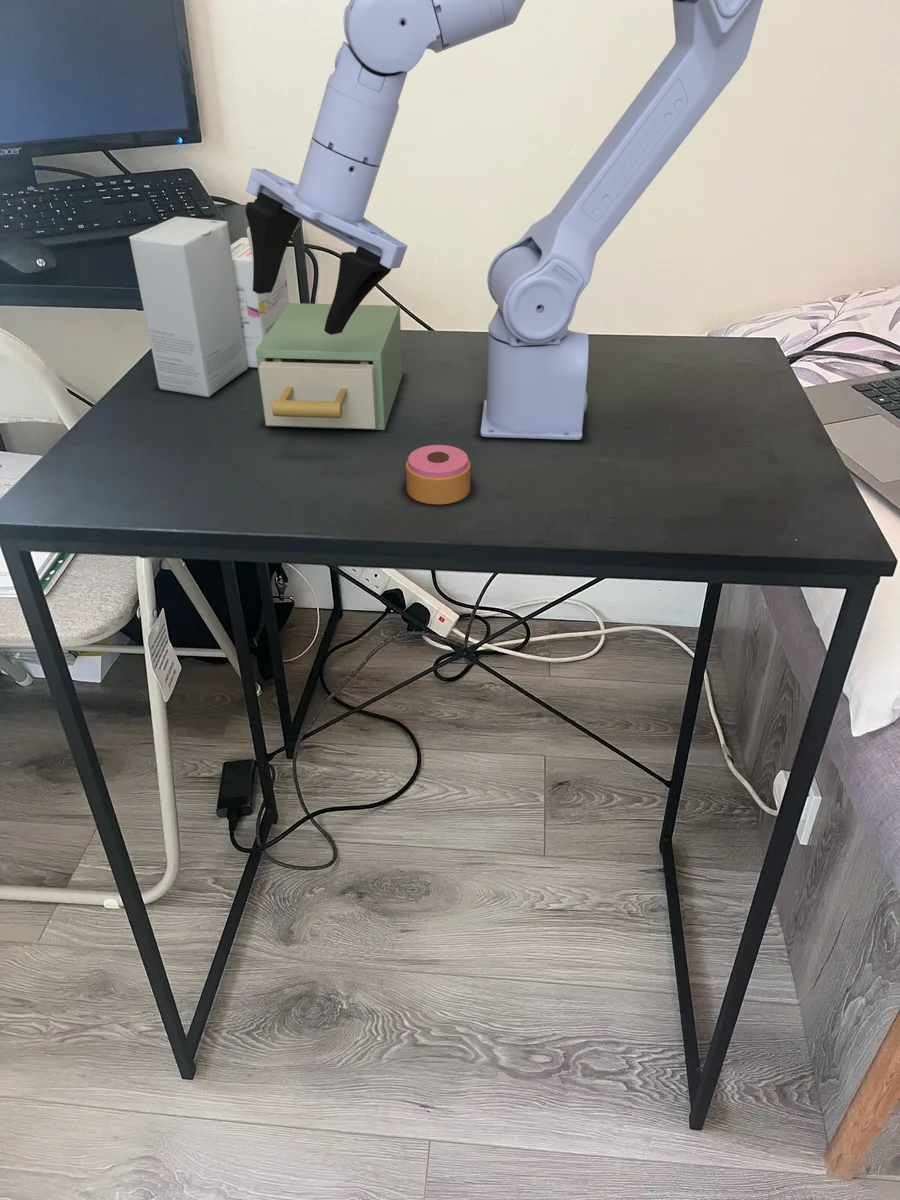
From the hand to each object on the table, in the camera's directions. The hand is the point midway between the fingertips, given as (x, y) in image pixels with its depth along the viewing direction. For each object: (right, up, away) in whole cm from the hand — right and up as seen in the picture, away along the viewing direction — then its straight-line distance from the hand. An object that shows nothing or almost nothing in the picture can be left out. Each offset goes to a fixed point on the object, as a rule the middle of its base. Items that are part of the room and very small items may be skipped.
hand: (297, 311), depth 79 cm
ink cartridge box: (-8, +3, +24) cm, 25 cm away
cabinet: (+2, -5, +13) cm, 14 cm away
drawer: (+2, -7, +9) cm, 11 cm away
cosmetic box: (-13, -2, +18) cm, 22 cm away
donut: (+12, -16, -2) cm, 20 cm away
